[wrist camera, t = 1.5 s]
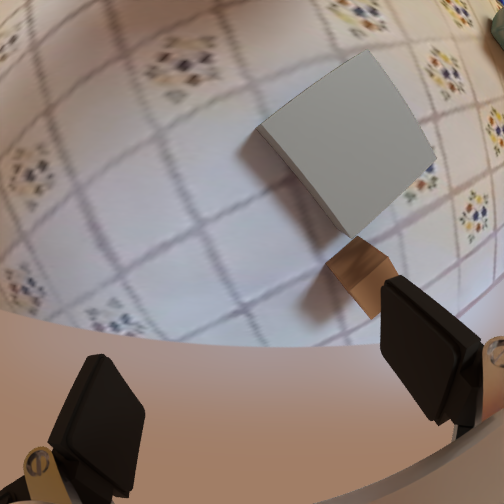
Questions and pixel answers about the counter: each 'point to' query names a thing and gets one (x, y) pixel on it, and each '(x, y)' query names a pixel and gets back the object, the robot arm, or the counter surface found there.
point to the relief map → (501, 2)
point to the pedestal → (351, 142)
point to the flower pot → (498, 27)
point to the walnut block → (362, 273)
